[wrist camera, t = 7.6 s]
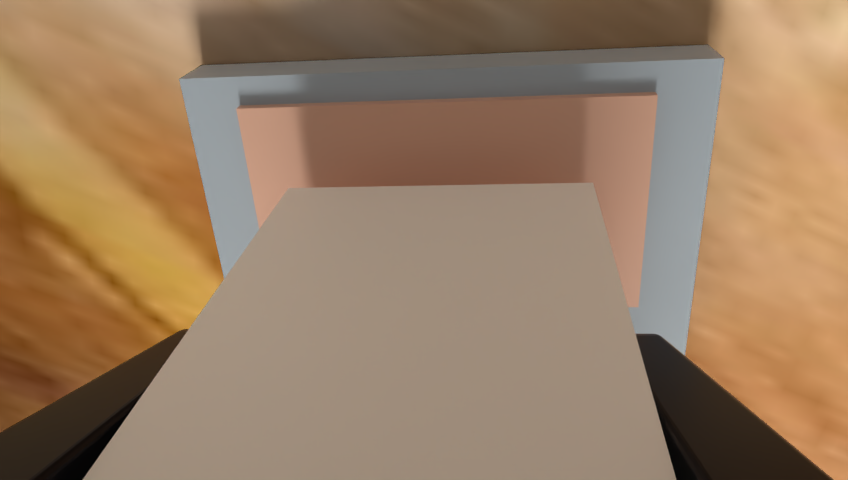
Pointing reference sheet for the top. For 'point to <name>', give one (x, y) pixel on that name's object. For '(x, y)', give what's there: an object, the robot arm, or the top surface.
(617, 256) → the domino board
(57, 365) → the top surface
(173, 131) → the top surface
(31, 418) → the robot arm
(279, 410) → the end domino
